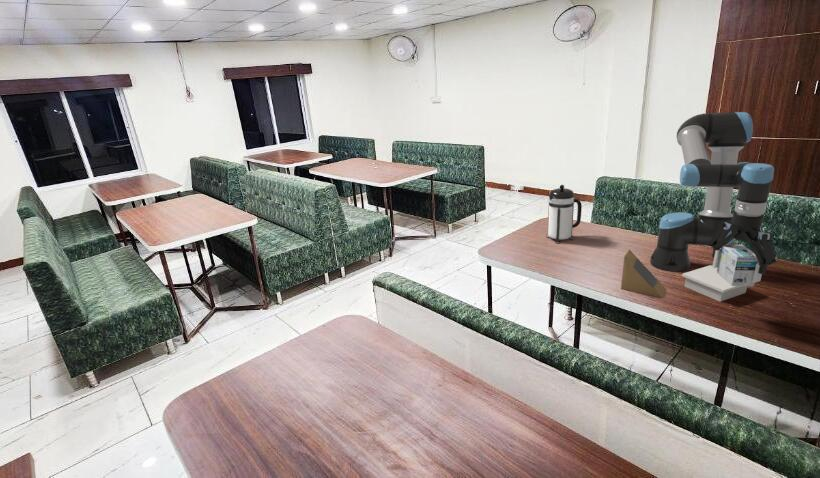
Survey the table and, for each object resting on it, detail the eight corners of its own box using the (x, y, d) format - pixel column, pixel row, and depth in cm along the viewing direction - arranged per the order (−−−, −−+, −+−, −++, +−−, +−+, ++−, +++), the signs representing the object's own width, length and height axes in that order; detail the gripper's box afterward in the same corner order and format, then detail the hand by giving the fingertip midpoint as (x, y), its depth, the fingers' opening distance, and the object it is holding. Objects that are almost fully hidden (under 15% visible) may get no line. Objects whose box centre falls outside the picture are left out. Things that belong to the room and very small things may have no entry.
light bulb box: (754, 286, 133) (761, 256, 129) (731, 286, 134) (737, 256, 130) (737, 272, 143) (743, 243, 139) (715, 272, 144) (720, 244, 140)
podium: (680, 286, 164) (682, 273, 162) (708, 277, 169) (710, 265, 167) (720, 303, 150) (723, 290, 148) (750, 293, 155) (753, 280, 153)
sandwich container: (664, 298, 157) (669, 262, 152) (620, 289, 166) (624, 255, 161) (667, 289, 163) (672, 254, 158) (624, 281, 172) (628, 248, 167)
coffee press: (572, 245, 212) (576, 189, 201) (541, 241, 220) (543, 187, 210) (580, 234, 225) (583, 181, 215) (550, 231, 234) (552, 179, 223)
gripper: (702, 206, 140) (692, 263, 147) (785, 226, 118) (768, 291, 126) (718, 202, 142) (707, 258, 150) (802, 221, 120) (784, 285, 128)
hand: (735, 273), depth 138 cm, fingers closed on light bulb box, 12 cm apart
